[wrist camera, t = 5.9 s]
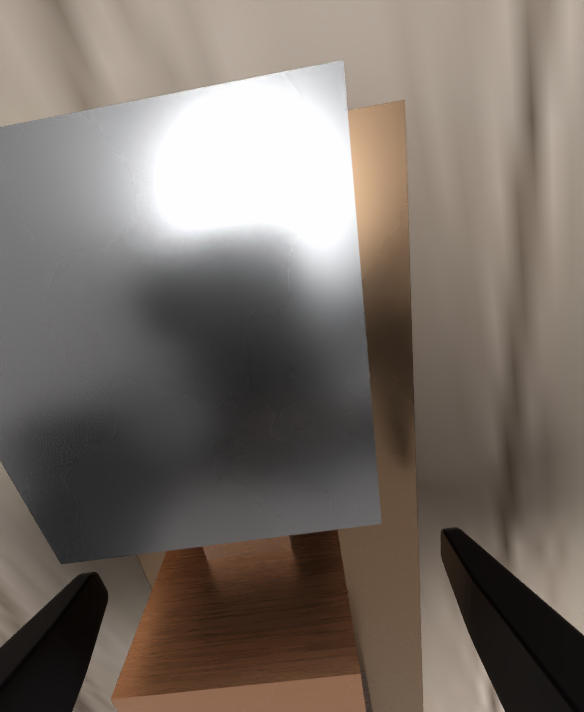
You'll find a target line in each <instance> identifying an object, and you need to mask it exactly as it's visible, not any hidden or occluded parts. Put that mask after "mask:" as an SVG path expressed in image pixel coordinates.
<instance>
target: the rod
mask: <svg viewBox="0 0 584 712" xmlns="http://www.w3.org/2000/svg"><path fill="white" fill-rule="evenodd" d="M111 701H112V702H113V704H114V705H115V707H116V709H117V710H118V712H366V708H365V701H364V694H363V687H362V680H361V673H360V667H359V661H358V655H357V648H356V642H355V636H354V630H353V623H352V617H351V611H350V605H349V598H348V592H347V586H346V580H345V573H344V567H343V561H342V555H341V548H340V542H339V536H338V530H329V531H321V532H313V533H305V534H297V535H289V536H281V537H273V538H265V539H257V540H249V541H241V542H233V543H225V544H217V545H209V546H201V547H193V548H185V549H177V550H169V551H167V552H166V554H165V557H164V559H163V562H162V565H161V567H160V570H159V573H158V575H157V578H156V581H155V583H154V586H153V589H152V591H151V594H150V597H149V599H148V602H147V605H146V607H145V610H144V612H143V615H142V618H141V620H140V623H139V626H138V628H137V631H136V634H135V636H134V639H133V642H132V644H131V647H130V650H129V652H128V655H127V658H126V660H125V663H124V665H123V668H122V671H121V673H120V676H119V679H118V681H117V684H116V687H115V689H114V692H113V695H112V697H111Z"/></svg>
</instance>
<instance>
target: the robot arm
mask: <svg viewBox="0 0 584 712" xmlns="http://www.w3.org/2000/svg"><path fill="white" fill-rule="evenodd" d="M441 557H442V561H443V564H444V567H445V569H446V572H447V575H448V578H449V580H450V583H451V586H452V589H453V591H454V594H455V597H456V600H457V602H458V605H459V608H460V611H461V614H462V616H463V619H464V622H465V624H466V627H467V630H468V632H469V635H470V637H471V639H472V641H473V644H474V646H475V648H476V650H477V652H478V655H479V657H480V659H481V661H482V663H483V665H484V667H485V670H486V672H487V674H488V676H489V678H490V680H491V682H492V685H493V687H494V689H495V691H496V693H497V695H498V697H499V700H500V702H501V704H502V706H503V708H504V710H505V712H584V635H583V634H582V633H580V632H579V631H578V630H577V629H576V628H575V627H573V626H572V625H571V624H570V623H569V622H568V621H567V620H565V619H564V618H563V617H562V616H561V615H560V614H558V613H557V612H556V611H555V610H554V609H553V608H551V607H550V606H549V605H548V604H547V603H546V602H544V601H543V600H542V599H541V598H540V597H539V596H537V595H536V594H535V593H534V592H533V591H532V590H531V589H529V588H528V587H527V586H526V585H525V584H524V583H522V582H521V581H520V580H519V579H518V578H517V577H515V576H514V575H513V574H512V573H511V572H510V571H508V570H507V569H506V568H505V567H504V566H503V565H501V564H500V563H499V562H498V561H497V560H496V559H495V558H493V557H492V556H491V555H490V554H489V553H488V552H486V551H485V550H484V549H483V548H482V547H481V546H479V545H478V544H477V543H476V542H475V541H474V540H472V539H471V538H470V537H469V536H468V535H467V534H465V533H464V532H463V531H462V530H461V529H459V528H456V527H454V528H446V529H442V531H441ZM107 602H108V591H107V589H106V587H105V585H104V584H103V582H102V580H101V578H100V576H99V574H98V573H96V572H89V573H82V574H80V575H78V576H77V577H76V578H74V579H73V580H72V581H71V582H70V583H69V584H68V585H67V586H66V587H65V588H64V589H63V590H62V591H61V592H59V593H58V594H57V595H56V596H55V597H54V598H53V599H52V600H51V601H50V602H49V603H48V604H47V605H46V606H44V607H43V608H42V609H41V610H40V611H39V612H38V613H37V614H36V615H35V616H34V617H33V618H32V619H31V620H29V621H28V622H27V623H26V624H25V625H24V626H23V627H22V628H21V629H20V630H19V631H18V632H17V633H16V634H14V635H13V636H12V637H11V638H10V639H9V640H8V641H7V642H6V643H5V644H4V645H3V646H2V647H1V648H0V712H72V710H73V708H74V705H75V702H76V700H77V697H78V694H79V692H80V689H81V686H82V684H83V681H84V678H85V675H86V672H87V669H88V666H89V663H90V660H91V656H92V653H93V650H94V646H95V643H96V640H97V636H98V633H99V629H100V626H101V623H102V619H103V616H104V612H105V609H106V606H107Z"/></svg>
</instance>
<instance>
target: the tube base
mask: <svg viewBox="0 0 584 712" xmlns="http://www.w3.org/2000/svg"><path fill="white" fill-rule="evenodd" d="M0 461H1V463H2V465H3V466H4V468H5V470H6V471H7V473H8V475H9V476H10V478H11V480H12V482H13V483H14V485H15V487H16V488H17V490H18V492H19V493H20V495H21V497H22V499H23V500H24V502H25V504H26V505H27V507H28V509H29V510H30V512H31V514H32V516H33V517H34V519H35V521H36V522H37V524H38V526H39V527H40V529H41V531H42V533H43V534H44V536H45V538H46V539H47V541H48V543H49V544H50V546H51V548H52V549H53V551H54V553H55V555H56V556H57V558H58V560H59V561H60V563H61V564H66V563H74V562H82V561H90V560H98V559H106V558H113V557H121V556H129V555H136V556H137V558H138V560H139V562H140V564H141V566H142V569H143V571H144V573H145V575H146V577H147V579H148V581H149V584H150V586H151V588H152V589H153V586H154V583H155V581H156V578H157V575H158V573H159V570H160V567H161V565H162V562H163V559H164V557H165V554H166V552H167V551H169V550H177V549H185V548H193V547H201V546H209V545H217V544H225V543H233V542H241V541H249V540H257V539H265V538H273V537H281V536H289V535H297V534H305V533H313V532H321V531H329V530H338V536H339V542H340V548H341V555H342V561H343V567H344V573H345V580H346V586H347V592H348V598H349V605H350V611H351V617H352V623H353V630H354V636H355V642H356V648H357V655H358V661H359V667H360V673H361V680H362V687H363V694H364V701H365V708H366V712H423V686H422V653H421V619H420V586H419V553H418V520H417V487H416V453H415V420H414V387H413V354H412V320H411V287H410V254H409V221H408V187H407V154H406V121H405V100H401V101H396V102H391V103H385V104H380V105H375V106H369V107H364V108H359V109H353V110H347V98H346V86H345V74H344V62H343V60H341V61H335V62H330V63H325V64H320V65H315V66H310V67H305V68H300V69H295V70H290V71H284V72H279V73H274V74H269V75H264V76H259V77H254V78H249V79H244V80H238V81H233V82H228V83H223V84H218V85H213V86H208V87H203V88H198V89H193V90H187V91H182V92H177V93H172V94H167V95H162V96H157V97H152V98H147V99H142V100H136V101H131V102H126V103H121V104H116V105H111V106H106V107H101V108H96V109H91V110H85V111H80V112H75V113H70V114H65V115H60V116H55V117H50V118H45V119H39V120H34V121H29V122H24V123H19V124H14V125H9V126H4V127H0Z"/></svg>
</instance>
